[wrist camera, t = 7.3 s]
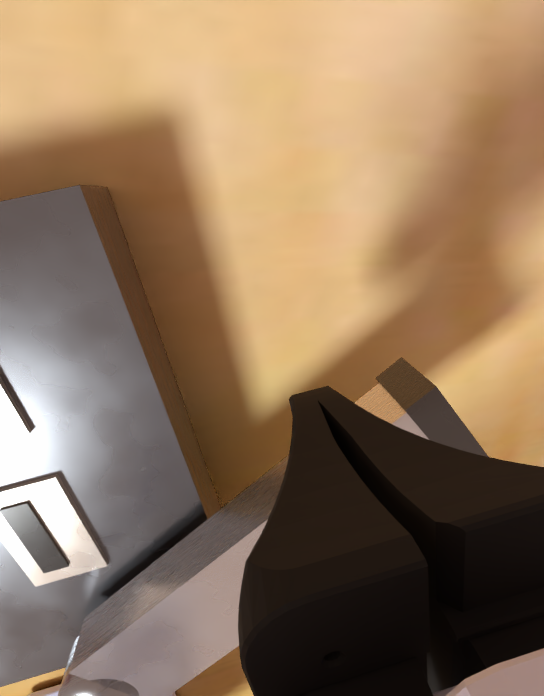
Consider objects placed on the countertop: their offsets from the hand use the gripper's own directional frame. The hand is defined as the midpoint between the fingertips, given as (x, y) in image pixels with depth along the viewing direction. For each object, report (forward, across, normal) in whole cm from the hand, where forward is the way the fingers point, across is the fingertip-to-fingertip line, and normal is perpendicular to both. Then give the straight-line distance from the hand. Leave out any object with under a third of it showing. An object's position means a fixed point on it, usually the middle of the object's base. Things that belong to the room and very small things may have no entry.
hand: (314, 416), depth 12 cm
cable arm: (+1, +4, +6) cm, 8 cm away
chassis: (+5, +11, +2) cm, 12 cm away
